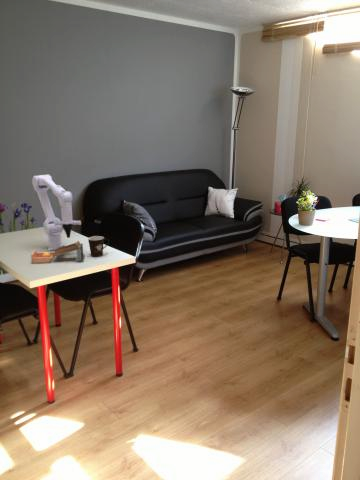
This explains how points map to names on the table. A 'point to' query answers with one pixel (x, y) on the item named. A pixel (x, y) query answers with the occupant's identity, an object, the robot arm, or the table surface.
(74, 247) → the tipping chute
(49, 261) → the tray
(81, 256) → the pivot stand
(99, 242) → the coffee mug
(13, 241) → the table surface
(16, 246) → the table surface
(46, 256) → the ball
